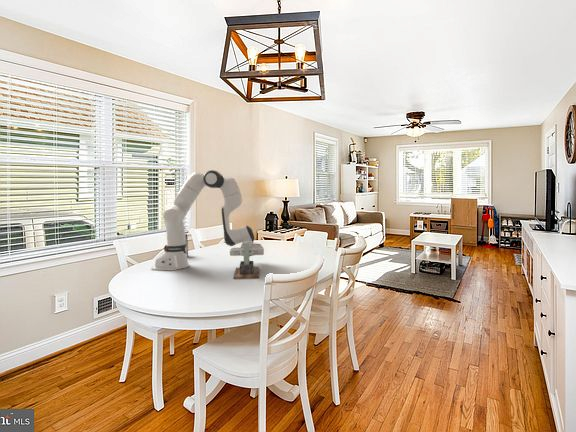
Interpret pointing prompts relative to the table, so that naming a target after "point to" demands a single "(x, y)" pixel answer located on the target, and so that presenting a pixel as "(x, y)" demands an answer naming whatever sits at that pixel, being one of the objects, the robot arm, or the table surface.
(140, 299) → the table surface
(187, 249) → the coffee box
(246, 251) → the pale green block
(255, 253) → the robot arm
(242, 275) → the wooden base with socket
